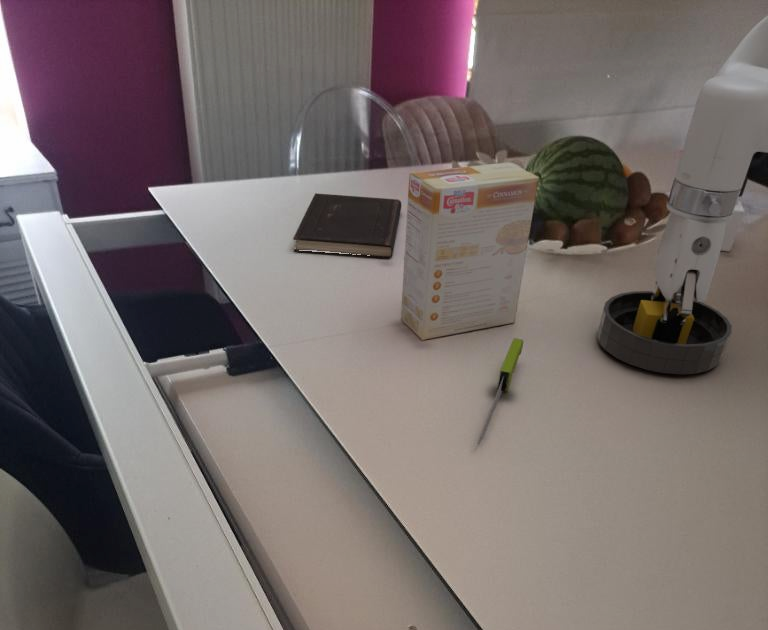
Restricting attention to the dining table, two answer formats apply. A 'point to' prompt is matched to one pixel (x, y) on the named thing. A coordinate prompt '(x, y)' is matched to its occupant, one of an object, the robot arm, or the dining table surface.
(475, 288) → the coffeecake box
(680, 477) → the dining table surface
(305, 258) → the dining table surface
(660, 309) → the sponge
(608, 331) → the bowl
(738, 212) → the medicine bottle
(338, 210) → the hardcover book
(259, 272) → the dining table surface
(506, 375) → the kitchen knife
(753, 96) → the robot arm
